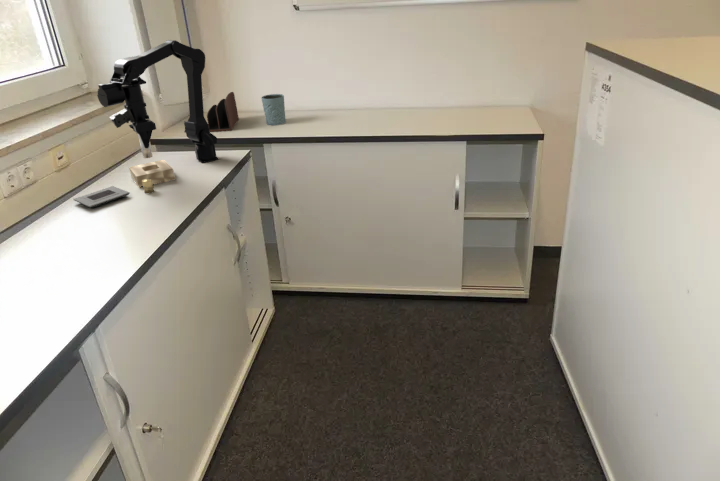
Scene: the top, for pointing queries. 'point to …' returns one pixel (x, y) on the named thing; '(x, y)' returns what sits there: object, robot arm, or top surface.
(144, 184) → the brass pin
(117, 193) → the grey rectangular tray
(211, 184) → the top surface
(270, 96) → the teal embossed pot
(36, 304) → the top surface
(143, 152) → the steel pin
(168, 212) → the top surface
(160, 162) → the hole block
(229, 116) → the letter holder
